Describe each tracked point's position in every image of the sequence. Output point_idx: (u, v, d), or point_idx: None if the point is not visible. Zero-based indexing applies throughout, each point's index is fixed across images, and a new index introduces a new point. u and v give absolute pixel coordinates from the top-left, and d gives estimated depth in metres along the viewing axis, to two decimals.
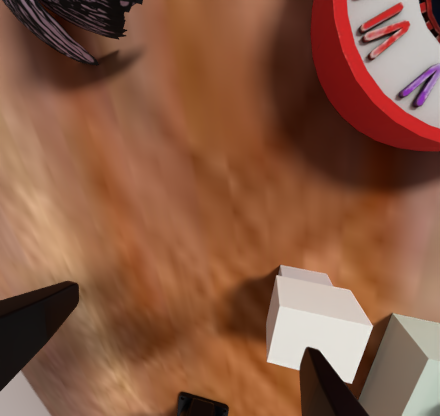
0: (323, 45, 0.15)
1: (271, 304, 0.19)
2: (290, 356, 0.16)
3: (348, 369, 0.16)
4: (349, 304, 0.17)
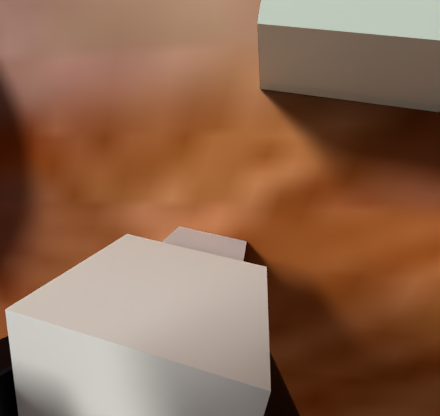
0: None
1: None
2: None
3: (197, 392, 0.04)
4: None
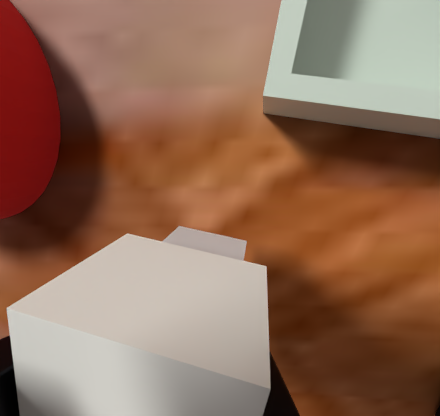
0: None
1: None
2: None
3: (198, 390, 0.04)
4: None
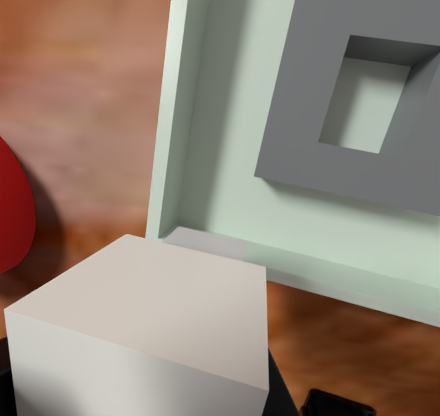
0: None
1: None
2: None
3: (196, 392, 0.04)
4: None
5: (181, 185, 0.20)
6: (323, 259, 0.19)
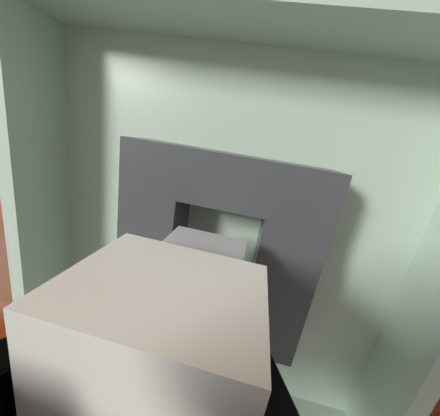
0: None
1: None
2: None
3: (197, 392, 0.04)
4: None
5: None
6: None
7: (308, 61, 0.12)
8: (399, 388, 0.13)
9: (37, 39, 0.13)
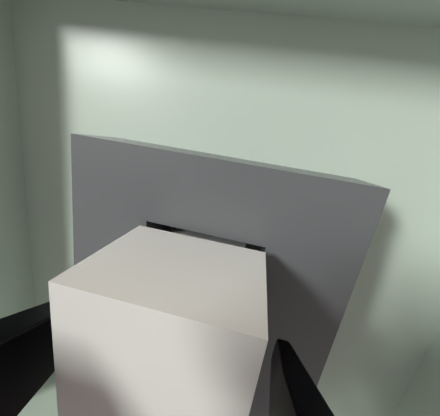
0: None
1: None
2: None
3: (208, 344, 0.05)
4: None
5: None
6: None
7: (324, 34, 0.09)
8: None
9: None
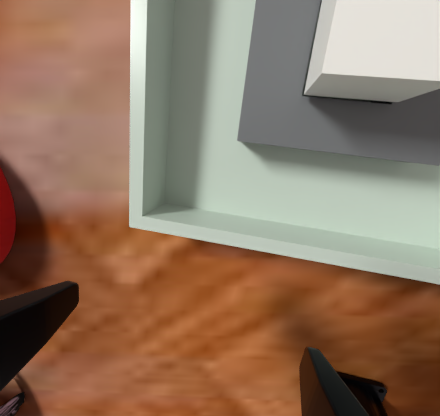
0: None
1: (353, 95, 0.12)
2: None
3: None
4: None
5: (165, 162, 0.19)
6: (319, 229, 0.18)
7: None
8: None
9: None
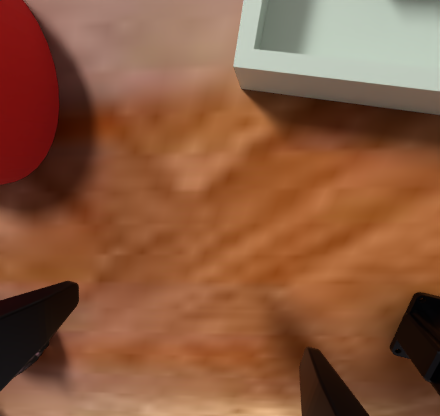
0: None
1: None
2: None
3: None
4: None
5: (266, 12, 0.15)
6: None
7: None
8: None
9: None
